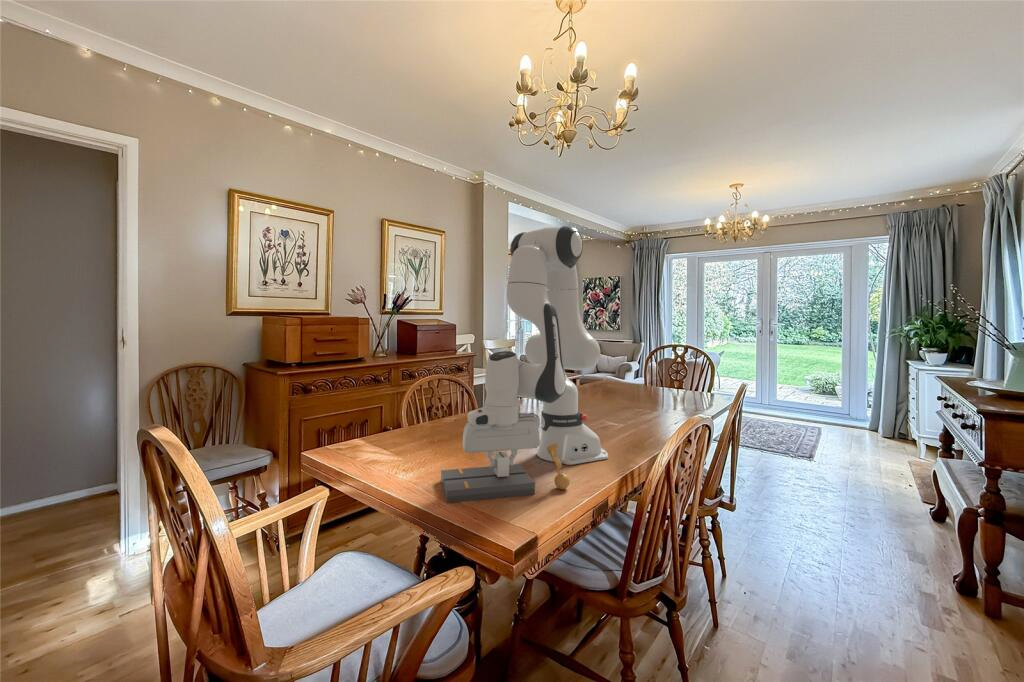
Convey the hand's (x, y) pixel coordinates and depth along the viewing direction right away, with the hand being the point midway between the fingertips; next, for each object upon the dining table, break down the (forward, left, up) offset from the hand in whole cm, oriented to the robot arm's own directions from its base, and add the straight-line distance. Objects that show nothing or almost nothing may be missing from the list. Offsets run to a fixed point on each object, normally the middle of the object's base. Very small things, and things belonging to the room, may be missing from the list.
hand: (501, 466), depth 116 cm
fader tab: (0, 0, -3) cm, 4 cm away
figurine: (-14, +5, -6) cm, 16 cm away
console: (+4, 0, -5) cm, 7 cm away
